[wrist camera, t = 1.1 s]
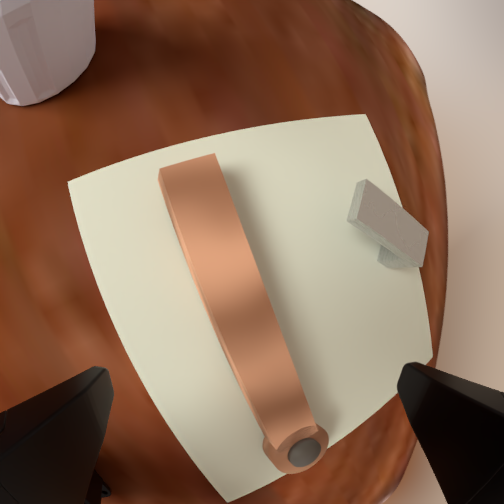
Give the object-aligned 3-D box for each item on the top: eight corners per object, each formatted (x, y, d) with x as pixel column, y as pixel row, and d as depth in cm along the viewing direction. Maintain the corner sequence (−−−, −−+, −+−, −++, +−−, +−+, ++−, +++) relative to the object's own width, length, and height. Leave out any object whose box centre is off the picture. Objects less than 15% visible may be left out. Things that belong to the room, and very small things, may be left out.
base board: (223, 495, 17) (227, 502, 16) (71, 186, 15) (67, 182, 14) (426, 355, 26) (432, 356, 25) (359, 118, 24) (365, 114, 23)
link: (320, 441, 19) (337, 454, 16) (273, 468, 17) (288, 485, 15) (215, 162, 17) (227, 147, 15) (147, 183, 16) (148, 168, 13)
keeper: (379, 268, 23) (422, 266, 19) (314, 228, 21) (356, 218, 16) (387, 237, 24) (428, 231, 19) (325, 194, 21) (366, 178, 17)
